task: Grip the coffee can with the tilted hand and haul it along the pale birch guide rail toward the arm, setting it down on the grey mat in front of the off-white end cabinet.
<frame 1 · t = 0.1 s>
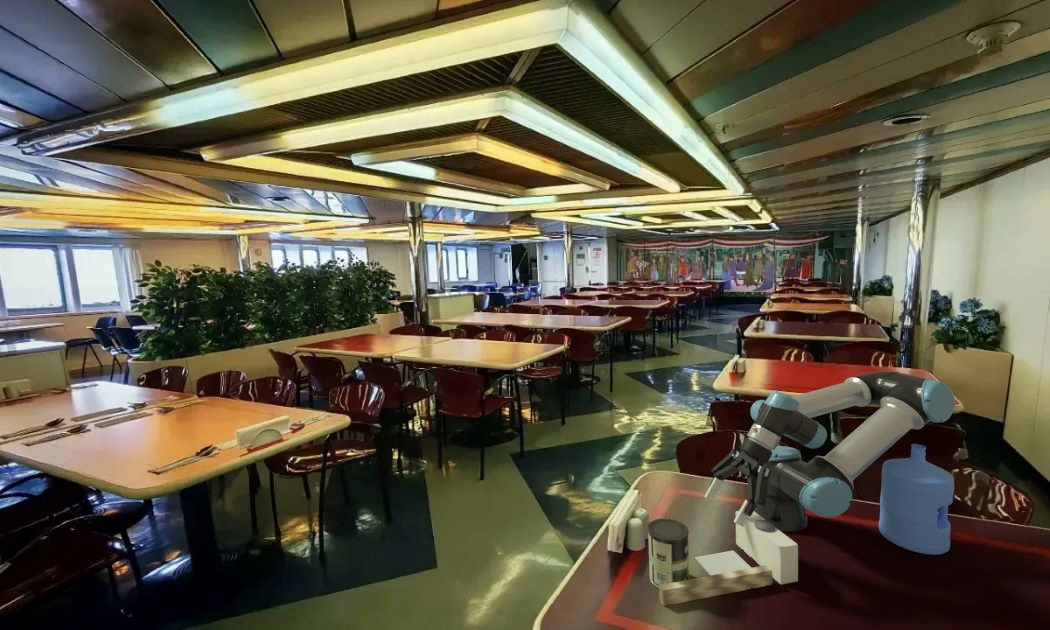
hand: (722, 511, 125), 14 cm above the table, tool tilted 35°, fingers open, 13 cm apart
coffee can: (669, 579, 120), on the table
end cabinet: (764, 561, 124), on the table
water jug: (912, 539, 130), on the table, touching arm
guide rail: (716, 592, 114), on the table
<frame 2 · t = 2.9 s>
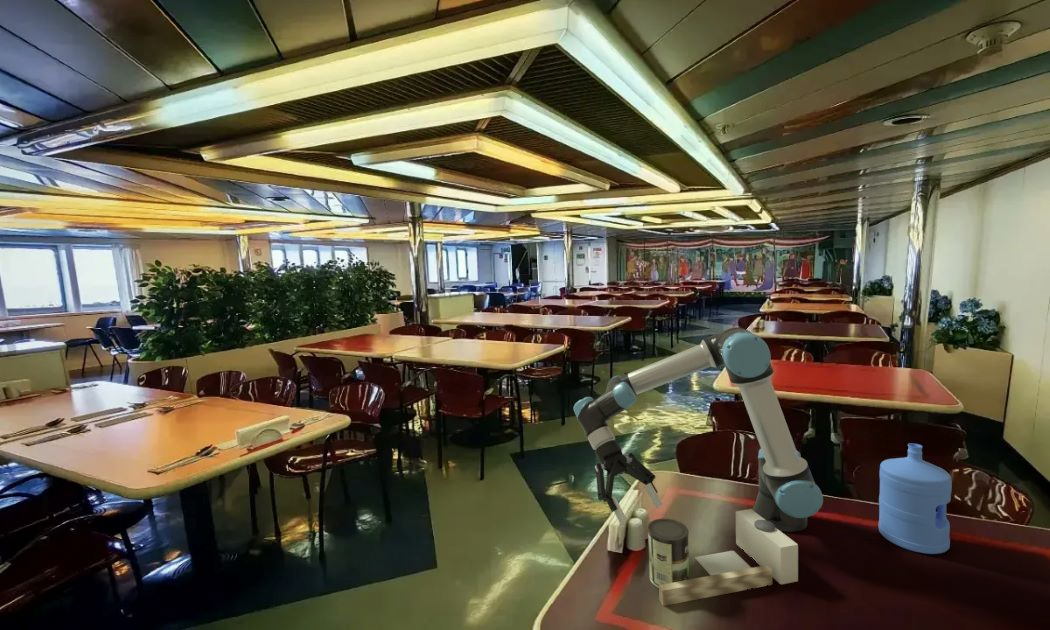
hand: (642, 513, 126), 14 cm above the table, tool tilted 45°, fingers open, 13 cm apart
water jug: (912, 539, 130), on the table
everything else where it was.
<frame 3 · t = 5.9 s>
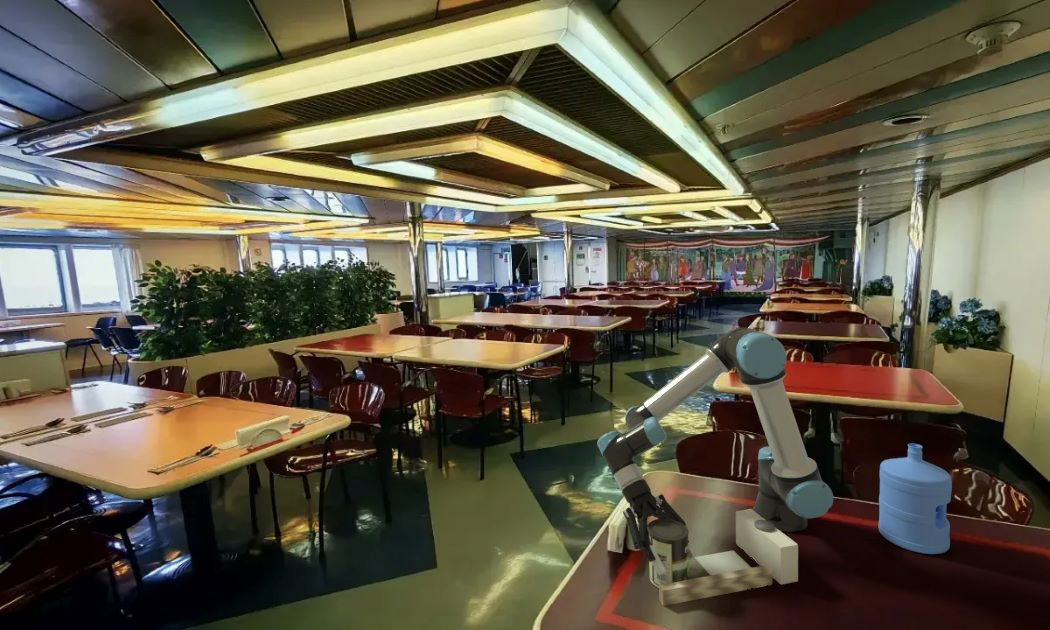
hand: (677, 565, 117), 6 cm above the table, tool tilted 45°, fingers closed on coffee can, 10 cm apart
coffee can: (669, 579, 120), on the table, touching gripper
everything else where it was.
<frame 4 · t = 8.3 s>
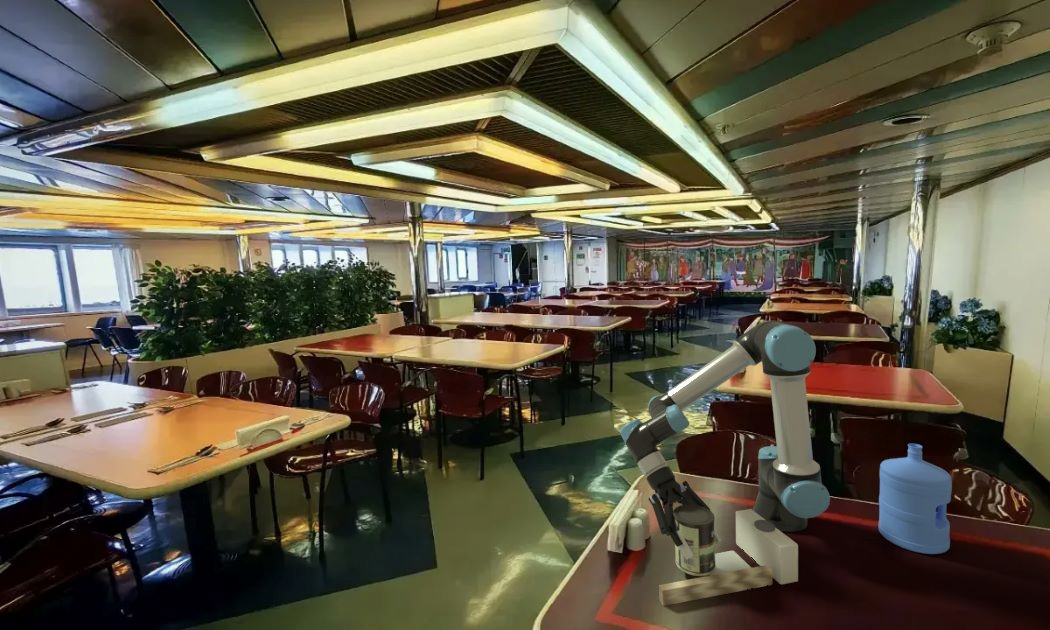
hand: (704, 550, 118), 8 cm above the table, tool tilted 45°, fingers closed on coffee can, 10 cm apart
coffee can: (695, 564, 121), point 2 cm above the table, touching gripper
everything else where it was.
when the fingers open (6 cm above the table, at t = 10.9 s): coffee can stays where it is, resting on end cabinet.
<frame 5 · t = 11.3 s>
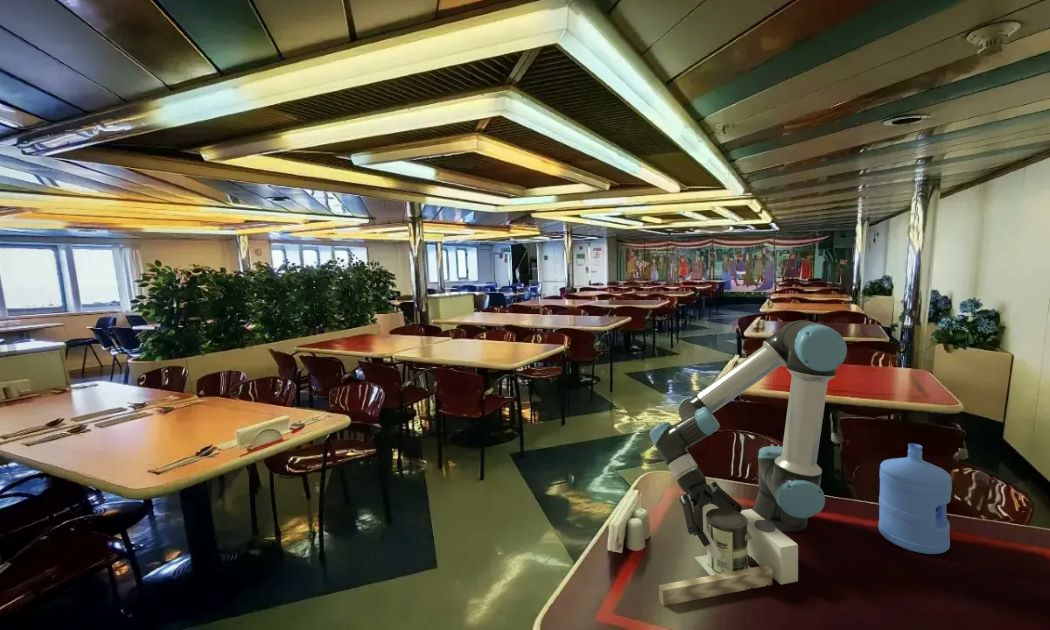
hand: (734, 548, 120), 7 cm above the table, tool tilted 45°, fingers open, 13 cm apart
coffee can: (727, 567, 123), resting on end cabinet
everything else where it was.
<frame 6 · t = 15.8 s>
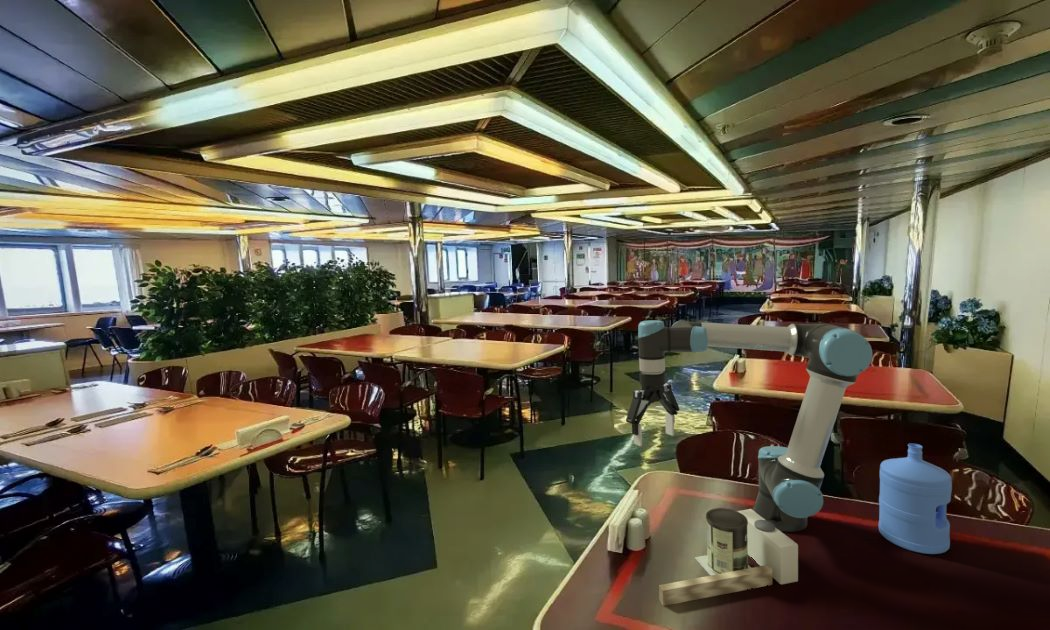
hand: (654, 439, 139), 30 cm above the table, tool pointing down, fingers open, 13 cm apart
nothing on the table moved.
at the end: coffee can inside the target area (0.4 cm from its centre), resting on end cabinet; coffee can tilted 0°; the gripper is holding nothing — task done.
